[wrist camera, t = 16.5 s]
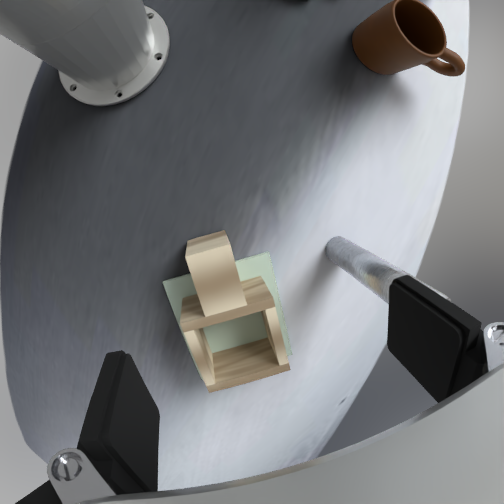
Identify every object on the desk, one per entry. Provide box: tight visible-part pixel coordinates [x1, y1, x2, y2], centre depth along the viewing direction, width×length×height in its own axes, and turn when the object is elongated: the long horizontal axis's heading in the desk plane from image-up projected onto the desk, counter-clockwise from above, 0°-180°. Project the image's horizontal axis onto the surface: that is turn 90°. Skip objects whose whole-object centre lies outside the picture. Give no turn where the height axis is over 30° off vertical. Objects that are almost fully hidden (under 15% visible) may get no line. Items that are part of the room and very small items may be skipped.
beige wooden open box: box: [180, 230, 290, 393], centre depth 32 cm, size 15×9×6 cm, turn 14°
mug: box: [352, 0, 465, 76], centre depth 26 cm, size 12×8×9 cm, turn 70°
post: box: [326, 236, 452, 304], centre depth 27 cm, size 3×3×18 cm
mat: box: [163, 252, 292, 380], centre depth 36 cm, size 14×12×1 cm
